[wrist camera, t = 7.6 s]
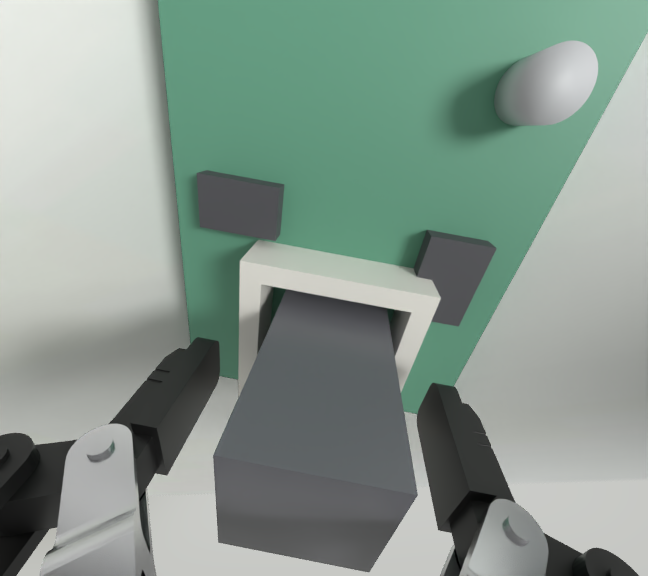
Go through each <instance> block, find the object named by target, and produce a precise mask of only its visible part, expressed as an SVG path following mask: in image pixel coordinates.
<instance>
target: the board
mask: <svg viewBox="0 0 648 576" xmlns="http://www.w3.org/2000/svg"><path fill="white" fill-rule="evenodd" d="M158 8H159V18H160V29H161V39H162V50H163V60H164V71H165V81H166V91H167V102H168V112H169V123H170V133H171V144H172V154H173V165H174V175H175V186H176V196H177V207H178V217H179V227H180V238H181V248H182V259H183V269H184V280H185V290H186V301H187V311H188V322H189V332H190V343H192V342H193V341H194V340H195V339H196V338H197V337H201V338H206V339H211V340H216V341H219V347H220V375H219V376H223V377H228V378H233V379H238V366H239V287H240V260H241V259H242V258H243V256H244V255H245V254H246V253H247V252H248V251H249V250H250V249H251V247H252V246H253V245H254V244H255V243H256V242H257V241H258V240H263V241H268V242H274V243H279V244H285V245H290V246H295V247H301V248H306V249H311V250H317V251H322V252H327V253H333V254H338V255H344V256H349V257H354V258H360V259H365V260H370V261H376V262H381V263H386V264H392V265H397V266H403V267H408V268H413V269H414V271H415V274H416V276H417V277H419V278H424V279H429V280H432V281H433V283H434V285H435V287H436V289H437V291H438V293H439V295H440V297H441V300H440V302H439V304H438V307H437V309H436V311H435V314H434V316H433V318H432V321H431V323H430V326H429V328H428V330H427V333H426V335H425V337H424V340H423V342H422V344H421V347H420V349H419V351H418V354H417V356H416V359H415V361H414V363H413V366H412V368H411V370H410V373H409V375H408V377H407V380H406V382H405V384H404V387H403V389H402V392H401V398H402V404H403V410H404V411H405V412H410V413H415V414H418V410H419V407H420V405H421V403H422V401H423V399H424V397H425V395H426V393H427V391H428V389H429V387H430V385H431V384H432V383H438V384H443V385H449V386H454V385H455V383H456V381H457V379H458V377H459V375H460V374H461V372H462V370H463V368H464V366H465V364H466V363H467V361H468V359H469V357H470V355H471V353H472V352H473V350H474V348H475V346H476V344H477V343H478V341H479V339H480V337H481V335H482V333H483V332H484V330H485V328H486V326H487V324H488V322H489V321H490V319H491V317H492V315H493V313H494V312H495V310H496V308H497V306H498V304H499V302H500V301H501V299H502V297H503V295H504V293H505V291H506V290H507V288H508V286H509V284H510V282H511V280H512V279H513V277H514V275H515V273H516V271H517V270H518V268H519V266H520V264H521V262H522V260H523V259H524V257H525V255H526V253H527V251H528V249H529V248H530V246H531V244H532V242H533V240H534V239H535V237H536V235H537V233H538V231H539V229H540V228H541V226H542V224H543V222H544V220H545V218H546V217H547V215H548V213H549V211H550V209H551V207H552V206H553V204H554V202H555V200H556V198H557V197H558V195H559V193H560V191H561V189H562V187H563V186H564V184H565V182H566V180H567V178H568V176H569V175H570V173H571V171H572V169H573V167H574V166H575V164H576V162H577V160H578V158H579V156H580V155H581V153H582V151H583V149H584V147H585V145H586V144H587V142H588V140H589V138H590V136H591V134H592V133H593V131H594V129H595V127H596V125H597V124H598V122H599V120H600V118H601V116H602V114H603V113H604V111H605V109H606V107H607V105H608V103H609V102H610V100H611V98H612V96H613V94H614V93H615V91H616V89H617V87H618V85H619V83H620V82H621V80H622V78H623V76H624V74H625V72H626V71H627V69H628V67H629V65H630V63H631V61H632V60H633V58H634V56H635V54H636V52H637V51H638V49H639V47H640V45H641V43H642V41H643V40H644V38H645V36H646V34H647V32H648V0H158ZM285 291H286V289H283V288H278V287H274V288H273V300H272V313H271V323H272V321H273V318H274V316H275V314H276V312H277V309H278V307H279V305H280V303H281V300H282V298H283V296H284V293H285ZM394 310H395V309H390V308H387V313H388V319H389V325H390V322H391V319H392V316H393V313H394Z"/></svg>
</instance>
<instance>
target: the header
mask: <svg viewBox="0 0 648 576" xmlns="http://www.w3.org/2000/svg"><path fill="white" fill-rule="evenodd" d="M274 287H278V288H283V289H289V290H294V291H299V292H305V293H310V294H315V295H321V296H326V297H331V298H337V299H342V300H347V301H352V302H358V303H363V304H368V305H374V306H379V307H384V308H390V309H395V310H394V313H393V316H392V319H391V322H390V331H391V337H392V343H393V349H394V355H395V361H396V367H397V373H398V379H399V385H400V392H402V389H403V387H404V384H405V382H406V380H407V377H408V375H409V373H410V370H411V368H412V366H413V363H414V361H415V359H416V356H417V354H418V351H419V349H420V347H421V344H422V342H423V340H424V337H425V335H426V333H427V330H428V328H429V326H430V323H431V321H432V318H433V316H434V314H435V311H436V309H437V307H438V304H439V302H440V300H441V297H440V295H439V293H438V291H437V289H436V287H435V285H434V283H433V281H432V280H429V279H424V278H419V277H417V276H416V274H415V271H414V269H413V268H408V267H403V266H397V265H392V264H386V263H381V262H376V261H370V260H365V259H360V258H354V257H349V256H344V255H338V254H333V253H327V252H322V251H317V250H311V249H306V248H301V247H295V246H290V245H285V244H279V243H274V242H268V241H263V240H258V241H257V242H256V243H255V244H254V245H253V246H252V247H251V249H250V250H249V251H248V252H247V253H246V254H245V255H244V256H243V258H242V259H241V260H240V287H239V366H238V397H239V396H240V393H241V391H242V389H243V387H244V384H245V382H246V380H247V378H248V375H249V373H250V371H251V368H252V366H253V364H254V362H255V359H256V357H257V355H258V353H259V350H260V348H261V346H262V343H263V341H264V339H265V337H266V334H267V332H268V330H269V328H270V325H271V313H272V300H273V288H274Z"/></svg>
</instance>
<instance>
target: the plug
mask: <svg viewBox="0 0 648 576" xmlns="http://www.w3.org/2000/svg"><path fill="white" fill-rule="evenodd" d="M213 459H214V476H215V493H216V509H217V526H218V542H219V543H224V544H229V545H234V546H239V547H244V548H249V549H254V550H259V551H264V552H269V553H275V554H279V555H284V556H290V557H295V558H299V559H305V560H309V561H314V562H320V563H324V564H330V565H335V566H340V567H345V568H350V569H355V570H360V571H365V572H370V570H371V568H372V567H373V565H374V563H375V562H376V560H377V559H378V557H379V555H380V554H381V552H382V551H383V549H384V548H385V546H386V545H387V543H388V541H389V540H390V538H391V537H392V535H393V533H394V532H395V530H396V529H397V527H398V525H399V524H400V522H401V521H402V519H403V517H404V516H405V514H406V513H407V511H408V510H409V508H410V506H411V505H412V503H413V502H414V500H415V498H416V497H417V489H416V483H415V476H414V470H413V464H412V458H411V452H410V446H409V440H408V434H407V428H406V422H405V416H404V410H403V404H402V398H401V392H400V385H399V379H398V373H397V367H396V361H395V355H394V349H393V343H392V337H391V331H390V325H389V319H388V313H387V308H384V307H379V306H374V305H368V304H363V303H358V302H352V301H347V300H342V299H337V298H331V297H326V296H321V295H315V294H310V293H305V292H299V291H294V290H289V289H286V291H285V293H284V296H283V298H282V300H281V303H280V305H279V307H278V309H277V312H276V314H275V316H274V318H273V321H272V323H271V325H270V328H269V330H268V332H267V334H266V337H265V339H264V341H263V343H262V346H261V348H260V350H259V353H258V355H257V357H256V359H255V362H254V364H253V366H252V368H251V371H250V373H249V375H248V378H247V380H246V382H245V384H244V387H243V389H242V391H241V393H240V396H239V398H238V400H237V403H236V405H235V407H234V409H233V412H232V414H231V416H230V418H229V421H228V423H227V425H226V428H225V430H224V432H223V434H222V437H221V439H220V441H219V443H218V446H217V448H216V450H215V453H214V455H213Z"/></svg>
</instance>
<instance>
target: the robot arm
mask: <svg viewBox="0 0 648 576" xmlns="http://www.w3.org/2000/svg"><path fill="white" fill-rule="evenodd" d="M219 375H220V347H219V341H216V340H211V339H206V338H201V337H197V338H196V339H195V340H194V341H193V342H192V343H191V345H190V346H189V347H188V349H187V350H186V349H180V348H179V349H177V350H176V351H174V352H173V353H171V354H169V355H168V356H166V357H165V358H164V359H163V360H162V362H161V363H160V364H159V365H158V366H157V368H156V370H155V371H153V372H152V374H151V375H150V376H149V377H148V378H147V381H145V382H144V383H143V384H142V385H141V387H140V388H139V389H138V390H137V391H136V393H135V394H134V395H133V396H132V397H131V399H130V400H129V401H128V402H127V403H126V404H125V406H124V407H123V408H122V409H121V410H120V412H119V413H118V414H117V415H116V416H115V418H114V419H113V420H112V421H111V422H110V423H109V424H106V425H102V426H99V427H97V428H94V429H92V430H90V431H89V432H87V433H85V434H84V435H83V436H81V437H80V438H79V439H78V440H73V441H65V442H57V443H49V444H40V445H34V443H33V441H32V439H31V438H30V437H29V436H27V435H25V434H22V433H10V434H5V435H1V436H0V576H16V575H17V574H18V572H19V571H20V570H21V568H22V567H23V565H24V564H25V563H26V561H27V560H28V558H29V557H30V556H31V554H32V553H33V551H34V550H35V549H36V547H37V546H38V544H39V543H40V542H41V540H42V539H43V537H44V536H45V535H46V533H47V532H48V530H49V529H51V528H56V527H57V534H56V541H55V544H54V547H53V549H52V550H50V551H48V553H47V554H46V555H45V557H44V560H43V563H42V566H41V571H40V576H156V571H155V565H154V559H153V550H152V538H151V527H150V515H149V504H148V492H147V486H148V485H149V483H150V481H151V479H152V478H153V476H154V474H155V473H157V474H162V475H168V473H169V471H170V469H171V467H172V465H173V464H174V462H175V460H176V458H177V456H178V454H179V453H180V451H181V449H182V447H183V445H184V443H185V442H186V440H187V438H188V436H189V434H190V433H191V431H192V429H193V427H194V425H195V423H196V422H197V420H198V418H199V416H200V414H201V412H202V411H203V409H204V407H205V405H206V403H207V402H208V400H209V398H210V396H211V394H212V392H213V391H214V389H215V387H216V385H217V382H218V379H219ZM417 427H418V432H419V437H420V442H421V447H422V452H423V457H424V462H425V467H426V472H427V477H428V482H429V487H430V492H431V497H432V502H433V506H434V511H435V516H436V521H437V526H438V530H440V531H445V532H450V533H452V536H453V541H454V545H453V546H452V548H451V550H450V552H449V555H448V557H447V560H446V562H445V564H444V567H443V569H442V572H441V574H440V576H638V574H637V573H636V572H635V571H634V570H633V569H632V568H631V567H630V566H629V565H627V564H626V563H625V562H624V561H623V560H621V559H620V558H619V557H617V556H616V555H614V554H612V553H611V552H609V551H607V550H604V549H600V548H592V549H590V550H588V551H587V552H585V553H584V554H582V553H580V552H578V551H576V550H574V549H572V548H570V547H569V546H567V545H565V544H563V543H561V542H559V541H557V540H555V539H553V538H552V537H550V536H548V535H547V534H545V533H543V531H542V529H541V528H540V526H539V525H538V524H537V522H536V521H535V520H534V518H533V517H532V516H531V515H530V514H529V513H528V512H527V511H526V510H525V509H524V508H522V507H521V506H519V505H518V504H516V503H515V501H514V498H513V496H512V494H511V492H510V489H509V487H508V485H507V482H506V480H505V477H504V475H503V473H502V470H501V468H500V466H499V463H498V461H497V458H496V456H495V454H494V451H493V449H491V444H490V442H489V440H488V437H487V436H486V435H485V434H486V432H485V430H484V428H483V425H482V423H481V421H480V418H479V417H478V416H477V414H476V413H475V412H474V411H473V410H472V408H471V407H470V406H469V405H468V404H464V403H462V402H461V399H460V396H459V394H458V391H457V389H456V388H455V387H454V386H449V385H443V384H438V383H432V384H431V385H430V387H429V389H428V391H427V393H426V395H425V397H424V399H423V401H422V403H421V405H420V407H419V410H418V414H417Z"/></svg>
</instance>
